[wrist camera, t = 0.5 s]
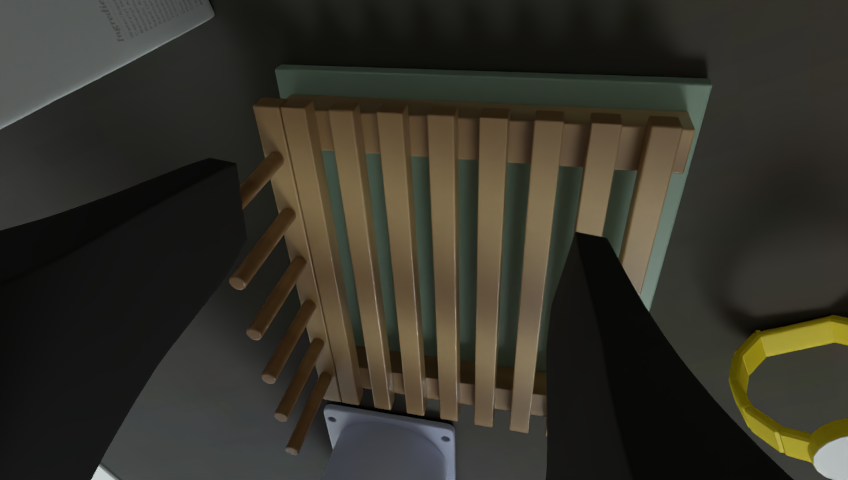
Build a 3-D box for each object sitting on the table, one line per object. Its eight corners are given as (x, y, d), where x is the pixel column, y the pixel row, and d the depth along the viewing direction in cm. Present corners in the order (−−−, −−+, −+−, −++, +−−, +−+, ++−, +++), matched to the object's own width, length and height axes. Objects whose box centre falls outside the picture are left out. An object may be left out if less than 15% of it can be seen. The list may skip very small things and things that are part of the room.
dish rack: (620, 406, 28) (630, 548, 22) (341, 364, 31) (289, 480, 25) (709, 77, 18) (769, 189, 12) (280, 63, 21) (173, 147, 15)
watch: (726, 366, 24) (761, 491, 20) (711, 323, 23) (745, 445, 19) (891, 340, 22) (976, 479, 17) (884, 290, 21) (973, 425, 16)
